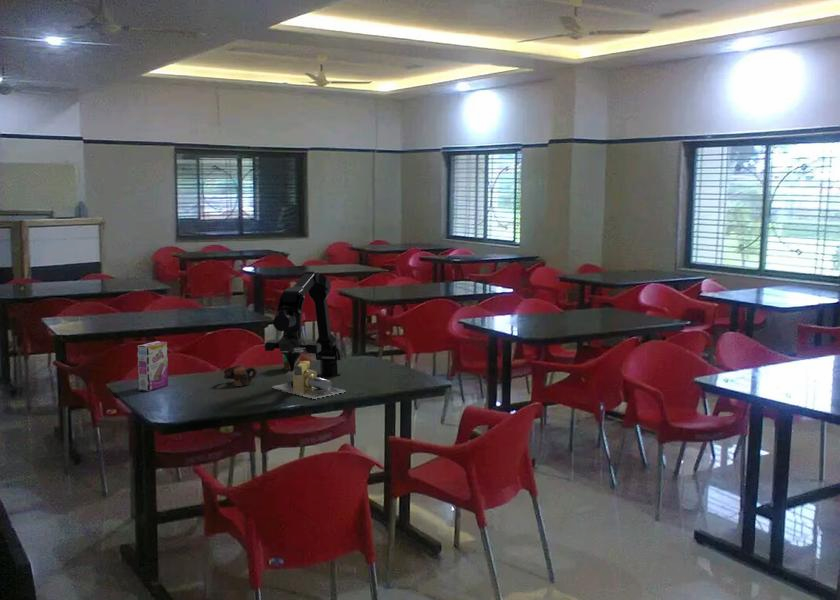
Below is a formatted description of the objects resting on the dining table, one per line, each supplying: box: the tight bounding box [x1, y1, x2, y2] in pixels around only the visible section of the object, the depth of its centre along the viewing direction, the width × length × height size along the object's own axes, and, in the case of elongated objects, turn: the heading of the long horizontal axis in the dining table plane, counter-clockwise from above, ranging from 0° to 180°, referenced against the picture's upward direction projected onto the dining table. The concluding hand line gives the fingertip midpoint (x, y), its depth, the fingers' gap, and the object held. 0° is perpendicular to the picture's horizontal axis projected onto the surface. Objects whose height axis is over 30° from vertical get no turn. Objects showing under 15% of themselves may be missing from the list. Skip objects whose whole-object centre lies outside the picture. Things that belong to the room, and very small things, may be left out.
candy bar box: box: [136, 341, 169, 392], centre depth 307 cm, size 11×5×16 cm, turn 159°
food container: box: [282, 354, 301, 372], centre depth 339 cm, size 12×6×10 cm, turn 172°
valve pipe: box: [272, 368, 346, 400], centre depth 302 cm, size 24×14×8 cm, turn 46°
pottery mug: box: [223, 364, 258, 387], centre depth 314 cm, size 12×10×8 cm
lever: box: [294, 360, 311, 375], centre depth 298 cm, size 15×4×3 cm, turn 177°
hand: (292, 371), depth 293 cm, fingers closed
